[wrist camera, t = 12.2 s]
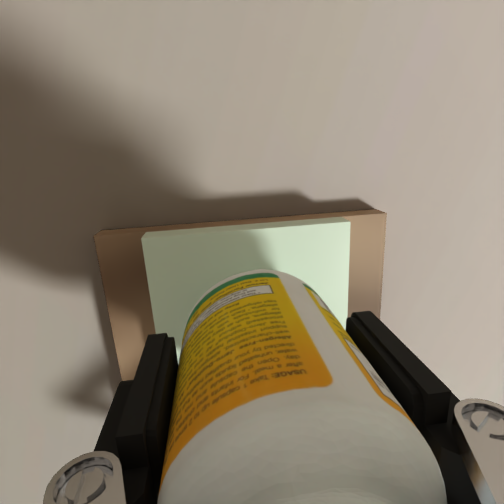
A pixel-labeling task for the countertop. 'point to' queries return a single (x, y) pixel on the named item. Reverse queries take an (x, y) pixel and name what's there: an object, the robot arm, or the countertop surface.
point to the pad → (243, 263)
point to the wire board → (130, 245)
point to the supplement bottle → (285, 407)
